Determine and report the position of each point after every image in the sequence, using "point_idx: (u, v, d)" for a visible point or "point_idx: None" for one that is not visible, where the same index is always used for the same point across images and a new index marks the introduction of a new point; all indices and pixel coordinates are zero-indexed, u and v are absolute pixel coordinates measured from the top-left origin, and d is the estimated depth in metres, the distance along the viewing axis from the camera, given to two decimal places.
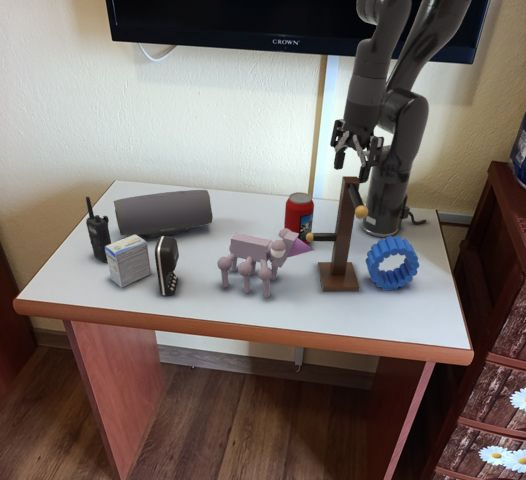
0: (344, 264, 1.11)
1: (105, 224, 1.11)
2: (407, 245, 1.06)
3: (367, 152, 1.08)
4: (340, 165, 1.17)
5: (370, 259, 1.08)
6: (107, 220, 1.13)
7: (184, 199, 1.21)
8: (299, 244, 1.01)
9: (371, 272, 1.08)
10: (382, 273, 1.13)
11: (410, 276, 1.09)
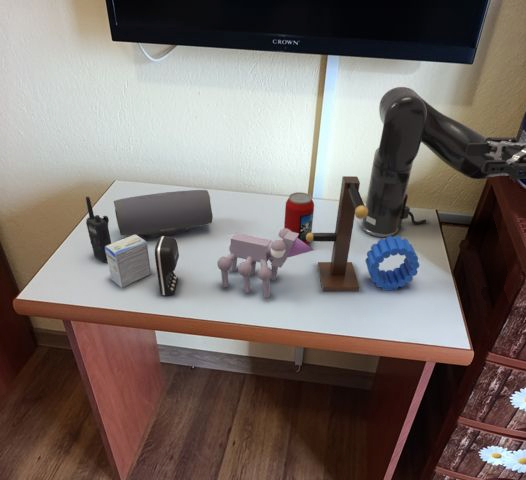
0: (344, 264, 1.11)
1: (105, 224, 1.11)
2: (407, 245, 1.06)
3: None
4: (471, 151, 0.98)
5: (370, 259, 1.08)
6: (107, 220, 1.13)
7: (184, 199, 1.21)
8: (299, 244, 1.01)
9: (371, 272, 1.08)
10: (382, 273, 1.13)
11: (410, 276, 1.09)
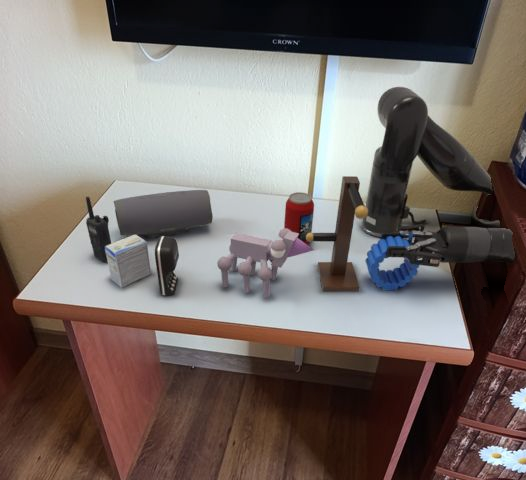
0: (344, 264, 1.11)
1: (105, 224, 1.11)
2: (407, 245, 1.06)
3: None
4: None
5: (370, 259, 1.08)
6: (107, 220, 1.13)
7: (184, 199, 1.21)
8: (299, 244, 1.01)
9: (371, 272, 1.08)
10: (382, 273, 1.13)
11: (410, 276, 1.09)
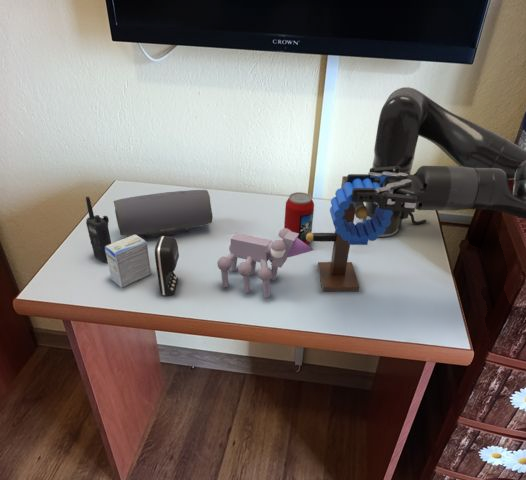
0: (344, 264, 1.11)
1: (105, 224, 1.11)
2: None
3: None
4: None
5: (333, 206, 0.90)
6: (107, 220, 1.13)
7: (184, 199, 1.21)
8: (299, 244, 1.01)
9: (335, 222, 0.90)
10: (350, 225, 0.95)
11: (382, 227, 0.91)
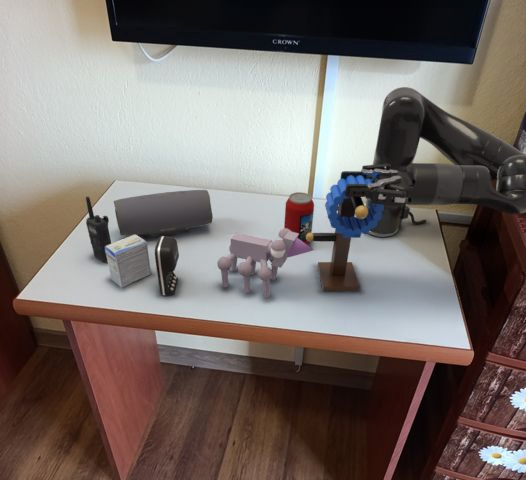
0: (344, 264, 1.11)
1: (105, 224, 1.11)
2: None
3: None
4: (345, 179, 0.97)
5: (328, 201, 0.96)
6: (107, 220, 1.13)
7: (184, 199, 1.21)
8: (299, 244, 1.01)
9: (330, 216, 0.96)
10: (344, 219, 1.01)
11: (374, 221, 0.97)
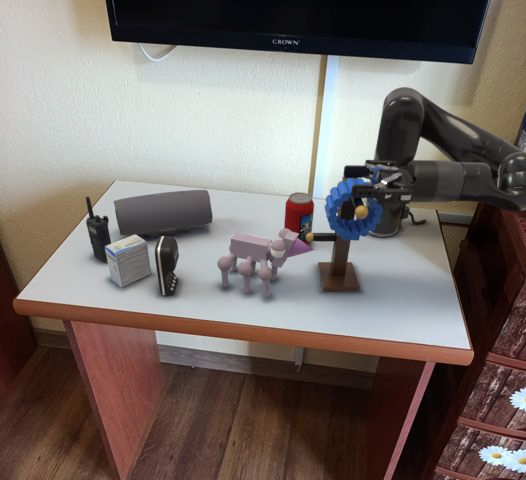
0: (344, 264, 1.11)
1: (105, 224, 1.11)
2: None
3: None
4: (348, 174, 0.97)
5: (328, 203, 0.97)
6: (107, 220, 1.13)
7: (184, 199, 1.21)
8: (299, 244, 1.01)
9: (329, 218, 0.96)
10: (343, 222, 1.01)
11: (373, 224, 0.98)
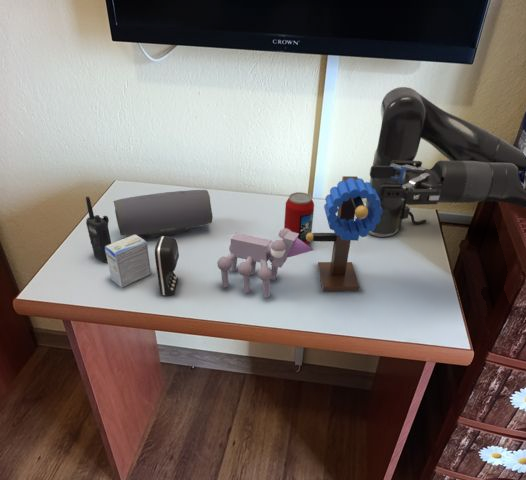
0: (344, 264, 1.11)
1: (105, 224, 1.11)
2: (370, 188, 0.95)
3: None
4: (374, 174, 0.98)
5: (328, 203, 0.97)
6: (107, 220, 1.13)
7: (184, 199, 1.21)
8: (299, 244, 1.01)
9: (329, 217, 0.96)
10: (342, 222, 1.01)
11: (372, 224, 0.98)
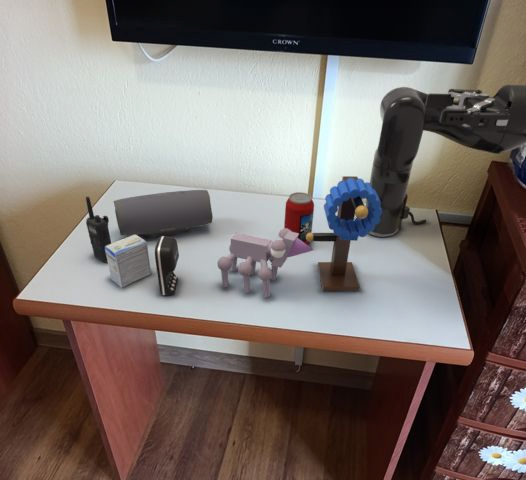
0: (344, 264, 1.11)
1: (105, 224, 1.11)
2: (370, 189, 0.95)
3: None
4: (431, 103, 0.89)
5: (327, 202, 0.96)
6: (107, 220, 1.13)
7: (184, 199, 1.21)
8: (299, 244, 1.01)
9: (328, 217, 0.96)
10: (342, 222, 1.01)
11: (372, 225, 0.98)
